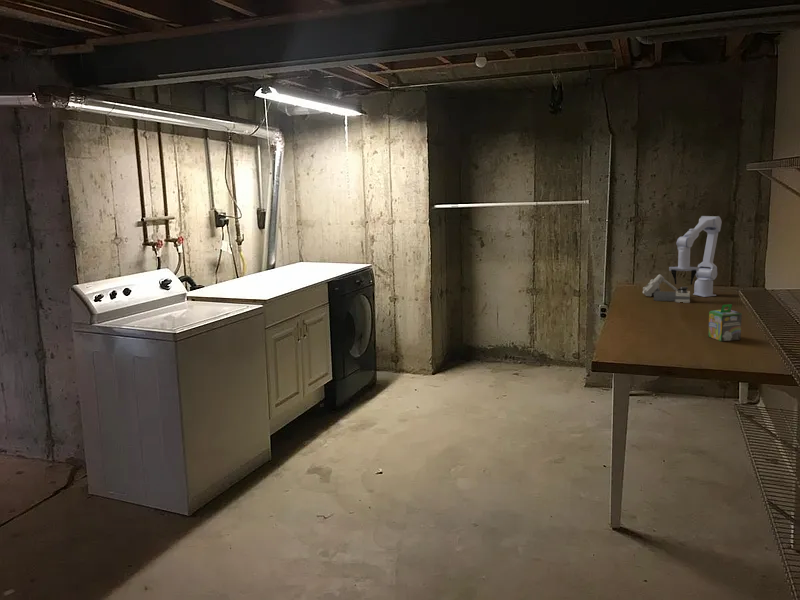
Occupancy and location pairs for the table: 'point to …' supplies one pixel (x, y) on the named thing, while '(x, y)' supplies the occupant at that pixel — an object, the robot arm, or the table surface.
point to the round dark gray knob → (683, 289)
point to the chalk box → (725, 324)
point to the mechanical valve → (656, 286)
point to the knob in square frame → (672, 296)
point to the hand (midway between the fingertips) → (683, 284)
